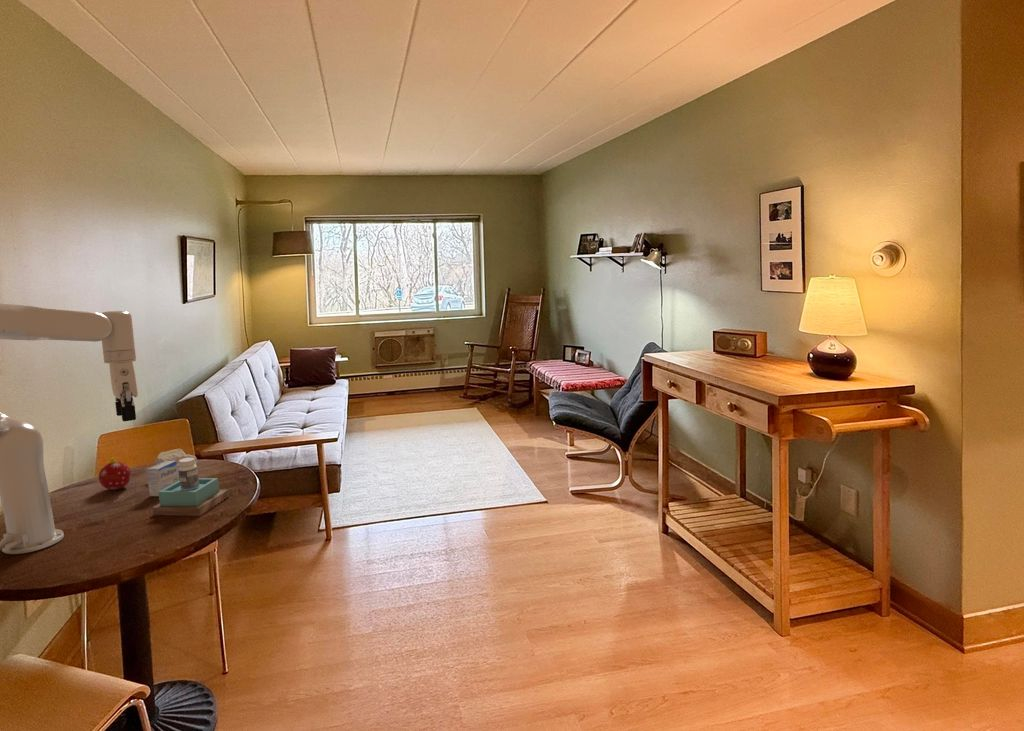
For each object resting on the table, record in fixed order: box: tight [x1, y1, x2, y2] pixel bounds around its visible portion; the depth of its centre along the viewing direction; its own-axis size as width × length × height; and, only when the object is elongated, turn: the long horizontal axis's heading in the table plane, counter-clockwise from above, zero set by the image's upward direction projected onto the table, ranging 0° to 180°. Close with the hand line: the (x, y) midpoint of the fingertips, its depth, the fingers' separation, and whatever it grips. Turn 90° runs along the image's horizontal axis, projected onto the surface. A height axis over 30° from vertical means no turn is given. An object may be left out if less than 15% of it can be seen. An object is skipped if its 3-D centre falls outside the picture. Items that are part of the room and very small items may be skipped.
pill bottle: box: [179, 458, 199, 491], centre depth 182 cm, size 5×5×8 cm
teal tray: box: [158, 477, 221, 506], centre depth 183 cm, size 11×11×4 cm
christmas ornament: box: [98, 457, 132, 491], centre depth 200 cm, size 9×9×10 cm
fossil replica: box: [154, 448, 198, 474], centre depth 212 cm, size 12×8×10 cm
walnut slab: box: [152, 488, 230, 517], centre depth 183 cm, size 14×14×3 cm
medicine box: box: [145, 461, 180, 497], centre depth 195 cm, size 8×4×9 cm, turn 168°
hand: (126, 417), depth 178 cm, fingers open, 9 cm apart
